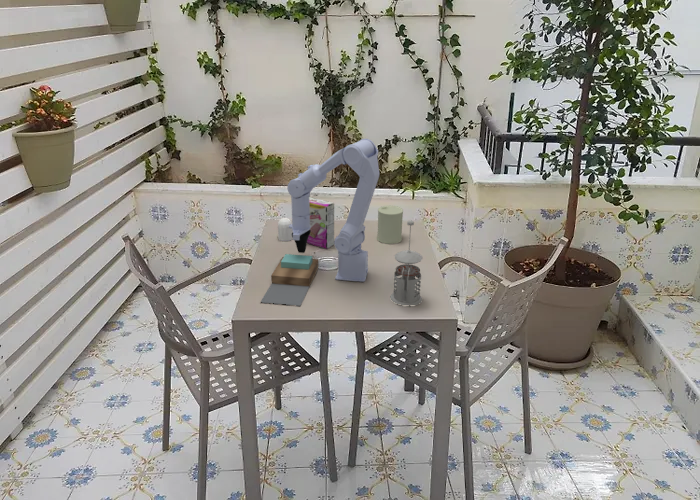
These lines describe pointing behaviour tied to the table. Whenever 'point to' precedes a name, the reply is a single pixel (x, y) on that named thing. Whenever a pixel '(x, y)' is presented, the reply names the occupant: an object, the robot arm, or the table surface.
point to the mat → (285, 294)
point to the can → (390, 224)
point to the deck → (294, 275)
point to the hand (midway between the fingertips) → (301, 251)
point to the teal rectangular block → (296, 261)
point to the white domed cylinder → (284, 230)
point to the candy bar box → (321, 223)
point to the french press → (407, 277)
